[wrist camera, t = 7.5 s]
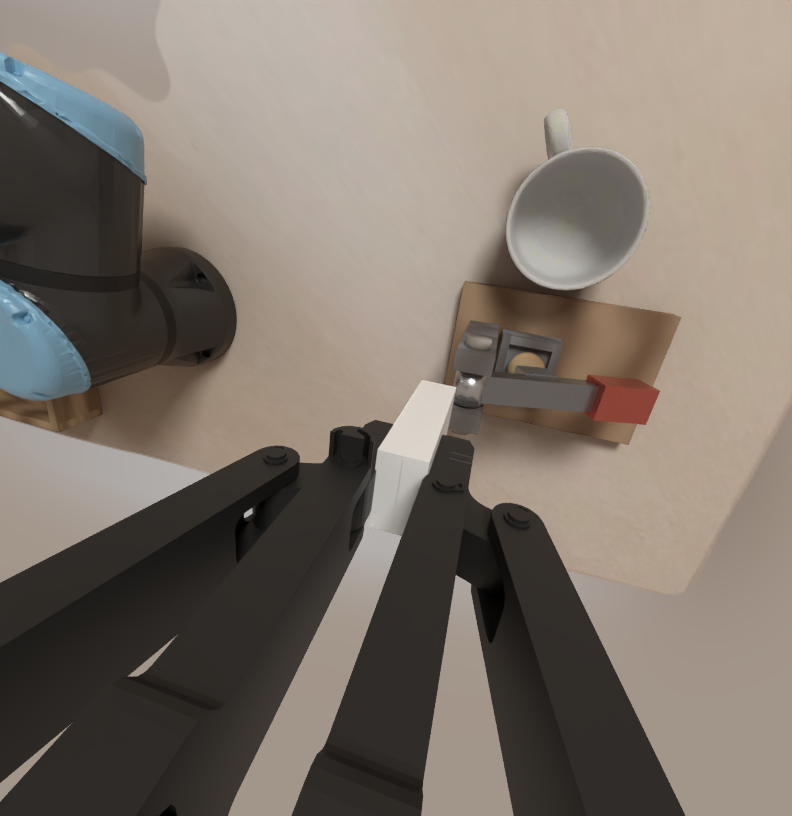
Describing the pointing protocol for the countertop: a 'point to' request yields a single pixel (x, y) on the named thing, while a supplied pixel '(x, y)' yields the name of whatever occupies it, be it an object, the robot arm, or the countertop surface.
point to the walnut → (525, 361)
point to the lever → (559, 393)
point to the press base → (554, 350)
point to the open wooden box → (52, 409)
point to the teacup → (576, 213)
